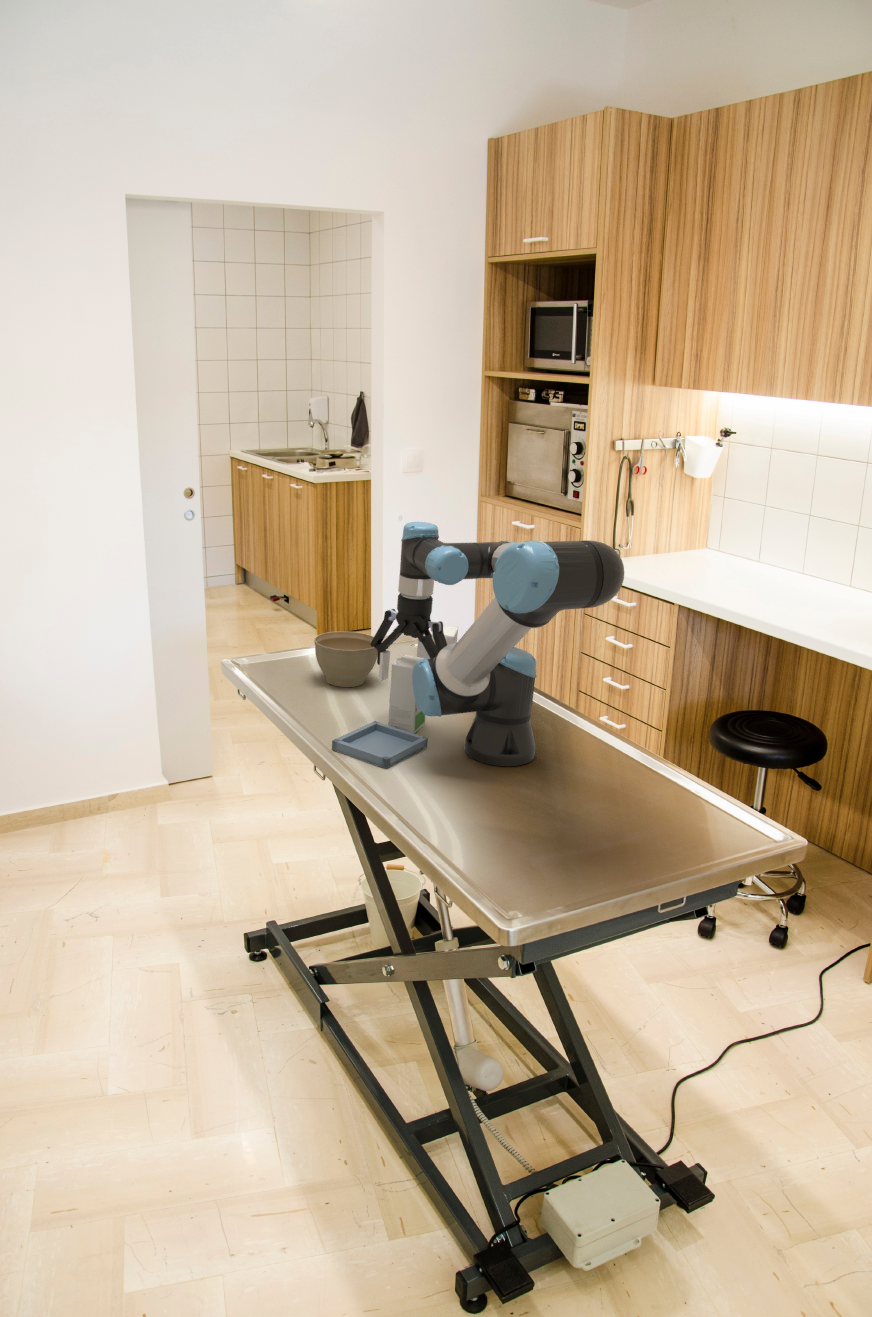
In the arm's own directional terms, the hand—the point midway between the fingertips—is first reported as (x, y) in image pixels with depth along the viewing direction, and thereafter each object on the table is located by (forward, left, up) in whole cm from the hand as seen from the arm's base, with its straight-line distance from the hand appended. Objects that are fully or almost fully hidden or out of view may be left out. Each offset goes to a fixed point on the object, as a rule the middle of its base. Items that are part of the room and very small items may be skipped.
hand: (408, 687), depth 219 cm
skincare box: (0, 0, -10) cm, 10 cm away
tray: (-3, +14, -9) cm, 17 cm away
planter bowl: (+28, -14, -10) cm, 32 cm away
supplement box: (+10, -27, -10) cm, 30 cm away
